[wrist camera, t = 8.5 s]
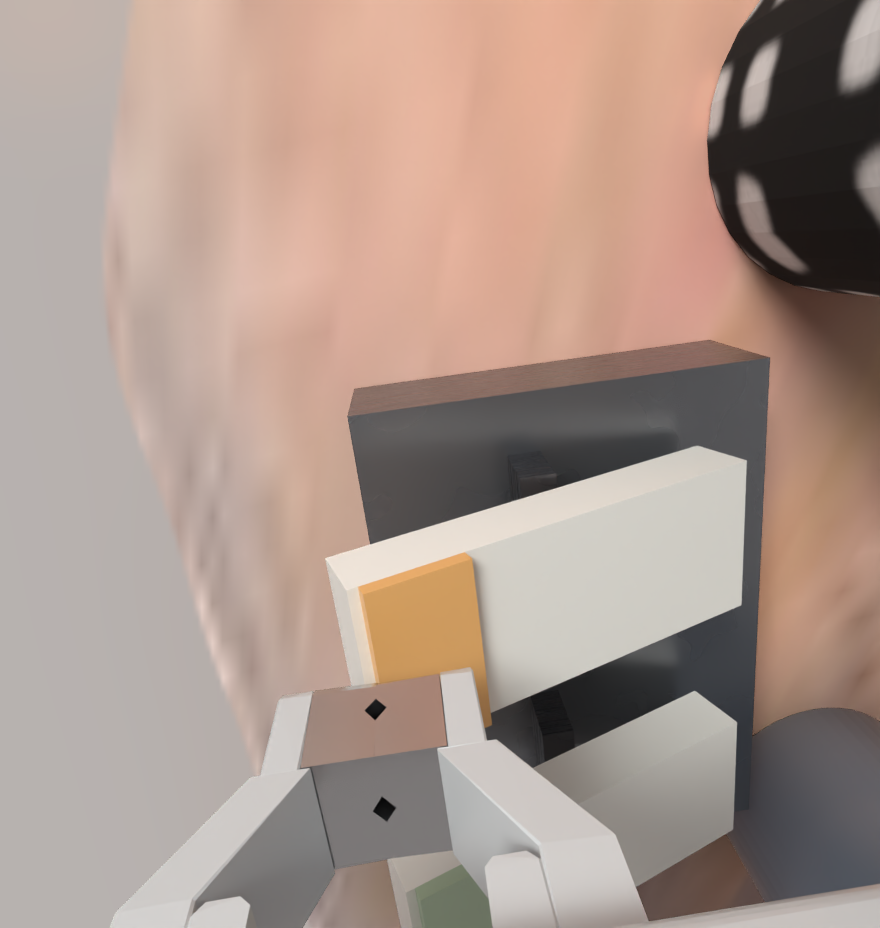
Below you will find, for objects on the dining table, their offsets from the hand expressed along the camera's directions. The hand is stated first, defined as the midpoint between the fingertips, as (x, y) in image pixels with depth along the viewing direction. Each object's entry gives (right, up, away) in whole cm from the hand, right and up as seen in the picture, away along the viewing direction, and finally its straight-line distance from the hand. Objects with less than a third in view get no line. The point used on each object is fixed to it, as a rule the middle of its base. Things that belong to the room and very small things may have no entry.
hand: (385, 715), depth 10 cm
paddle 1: (+3, +1, +3) cm, 5 cm away
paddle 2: (+4, -5, +6) cm, 9 cm away
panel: (+4, 0, +10) cm, 11 cm away
